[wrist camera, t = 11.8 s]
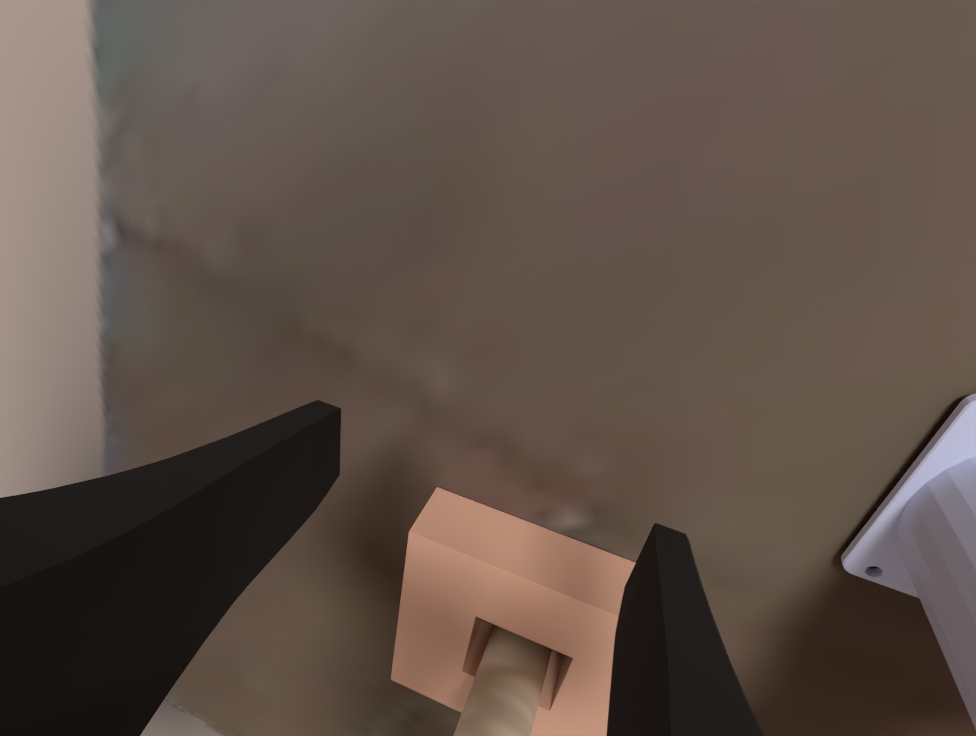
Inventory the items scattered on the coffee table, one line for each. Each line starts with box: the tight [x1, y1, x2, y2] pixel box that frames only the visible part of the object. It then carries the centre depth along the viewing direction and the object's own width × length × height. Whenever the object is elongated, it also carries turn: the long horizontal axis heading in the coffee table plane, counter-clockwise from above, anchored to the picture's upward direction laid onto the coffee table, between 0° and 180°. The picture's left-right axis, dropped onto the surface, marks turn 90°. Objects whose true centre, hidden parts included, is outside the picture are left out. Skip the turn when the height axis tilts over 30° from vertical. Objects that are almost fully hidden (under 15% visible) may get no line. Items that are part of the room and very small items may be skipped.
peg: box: [454, 625, 552, 736], centre depth 24 cm, size 3×3×8 cm
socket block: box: [391, 487, 636, 736], centre depth 26 cm, size 12×12×3 cm
